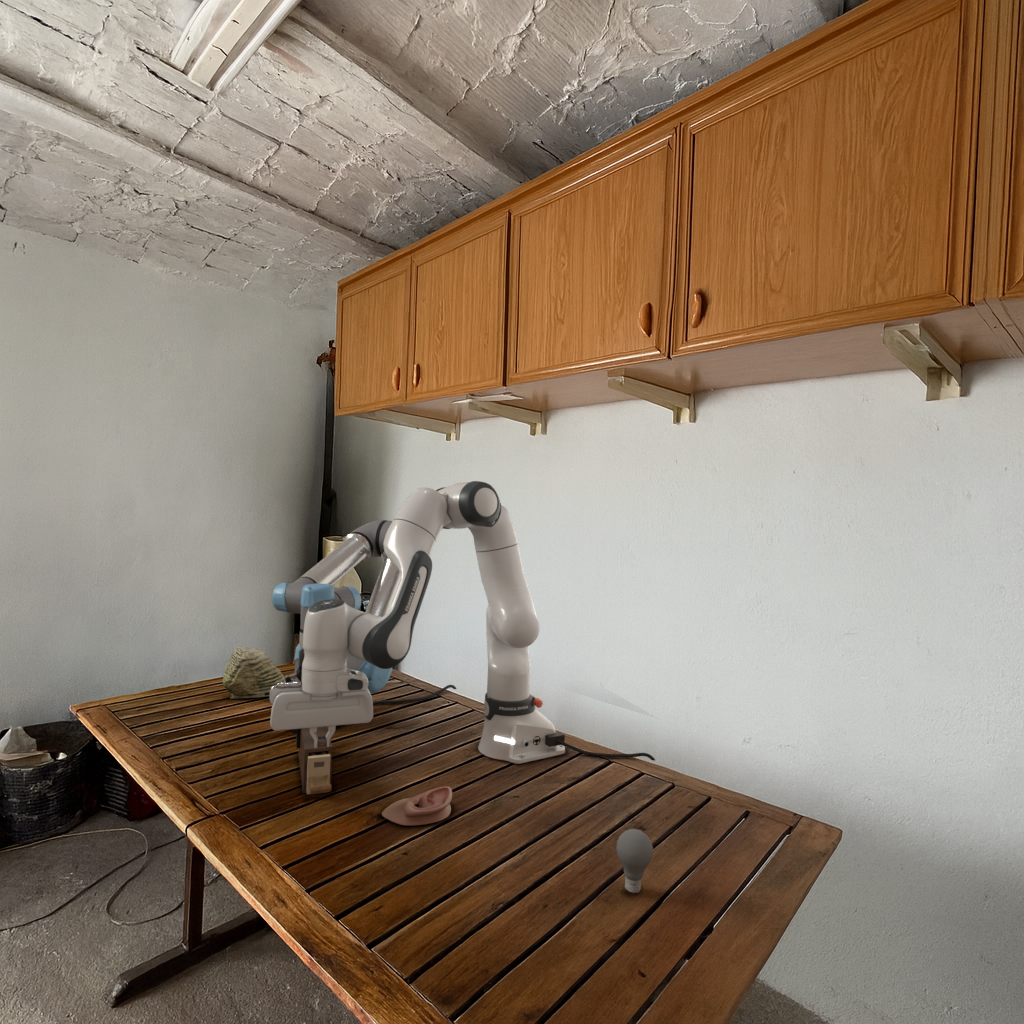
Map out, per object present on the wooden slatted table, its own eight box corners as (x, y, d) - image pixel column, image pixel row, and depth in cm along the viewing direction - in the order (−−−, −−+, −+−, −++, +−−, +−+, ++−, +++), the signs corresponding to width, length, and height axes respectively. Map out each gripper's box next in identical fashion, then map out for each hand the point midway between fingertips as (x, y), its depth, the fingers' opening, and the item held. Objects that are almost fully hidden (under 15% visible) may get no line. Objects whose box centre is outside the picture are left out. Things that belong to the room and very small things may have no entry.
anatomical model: (375, 801, 124) (398, 776, 135) (375, 821, 124) (397, 795, 136) (440, 811, 122) (457, 785, 133) (439, 831, 122) (456, 803, 133)
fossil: (218, 695, 195) (220, 647, 195) (278, 685, 208) (279, 640, 207) (228, 703, 189) (230, 653, 188) (289, 692, 201) (290, 645, 201)
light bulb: (610, 879, 108) (613, 822, 108) (644, 879, 109) (647, 822, 109) (619, 902, 102) (622, 840, 102) (655, 901, 103) (658, 840, 103)
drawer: (331, 805, 128) (333, 767, 128) (308, 808, 127) (309, 770, 127) (321, 754, 153) (322, 722, 153) (301, 756, 152) (303, 724, 151)
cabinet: (330, 790, 137) (332, 746, 137) (303, 793, 135) (304, 749, 135) (322, 751, 157) (324, 713, 157) (298, 754, 155) (299, 715, 155)
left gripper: (274, 654, 145) (270, 754, 145) (357, 650, 152) (354, 746, 152) (273, 647, 152) (270, 742, 152) (353, 643, 159) (350, 735, 159)
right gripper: (269, 687, 123) (267, 758, 123) (376, 681, 130) (373, 747, 131) (269, 678, 129) (267, 746, 129) (371, 672, 136) (368, 736, 137)
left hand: (312, 744), depth 152 cm, fingers closed on cabinet, 6 cm apart
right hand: (321, 746), depth 130 cm, fingers closed
